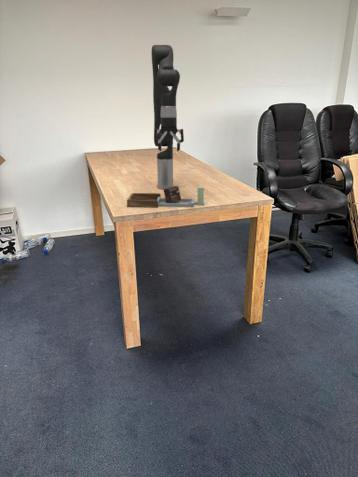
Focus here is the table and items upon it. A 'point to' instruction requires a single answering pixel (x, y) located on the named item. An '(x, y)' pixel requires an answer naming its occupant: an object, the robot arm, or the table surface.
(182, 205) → the pull frame
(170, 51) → the robot arm
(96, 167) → the table surface
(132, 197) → the dark brown tray
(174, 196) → the box
